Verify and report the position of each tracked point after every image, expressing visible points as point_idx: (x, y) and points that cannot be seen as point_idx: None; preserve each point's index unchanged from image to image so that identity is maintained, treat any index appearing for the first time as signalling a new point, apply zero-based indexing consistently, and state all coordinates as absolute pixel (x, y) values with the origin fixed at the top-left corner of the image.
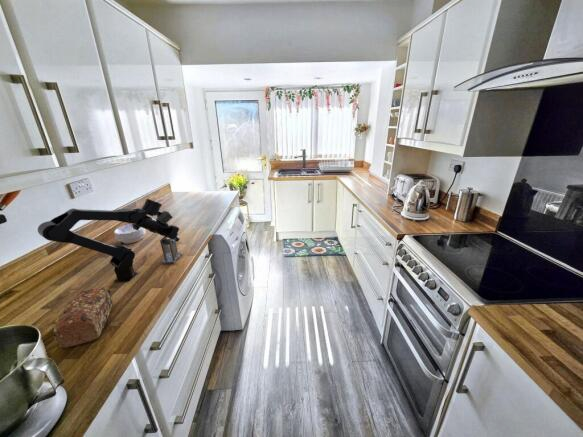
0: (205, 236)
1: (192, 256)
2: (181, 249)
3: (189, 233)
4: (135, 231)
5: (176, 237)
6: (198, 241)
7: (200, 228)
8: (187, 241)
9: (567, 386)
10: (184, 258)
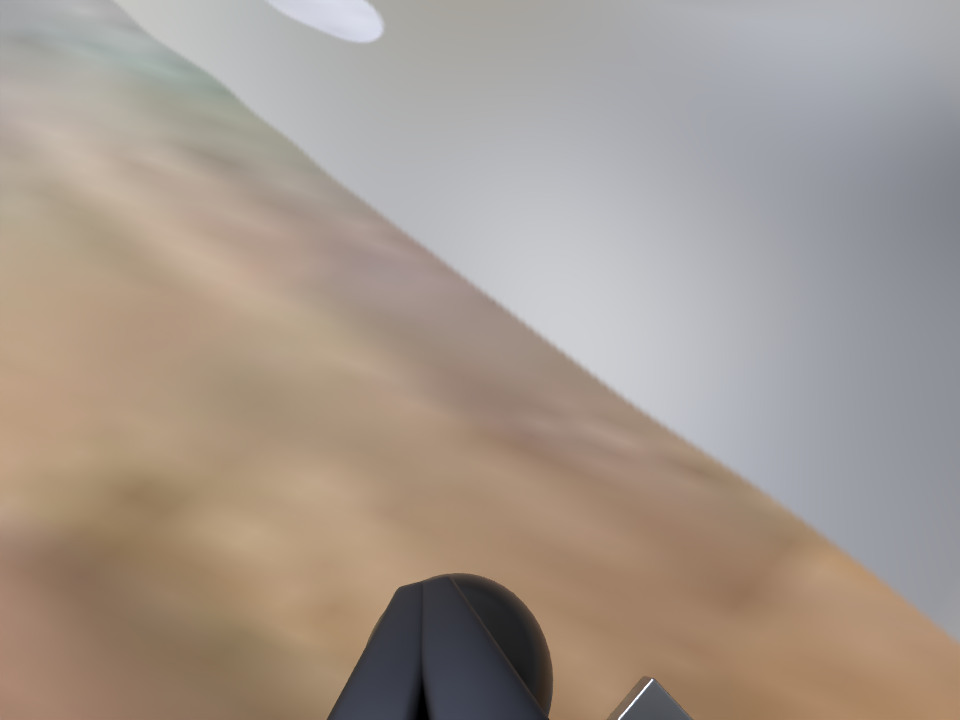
0: (312, 171)
1: (832, 562)
2: None
3: (7, 269)
4: None
5: None
6: (374, 286)
7: (29, 126)
8: (223, 393)
9: None
10: (825, 709)
